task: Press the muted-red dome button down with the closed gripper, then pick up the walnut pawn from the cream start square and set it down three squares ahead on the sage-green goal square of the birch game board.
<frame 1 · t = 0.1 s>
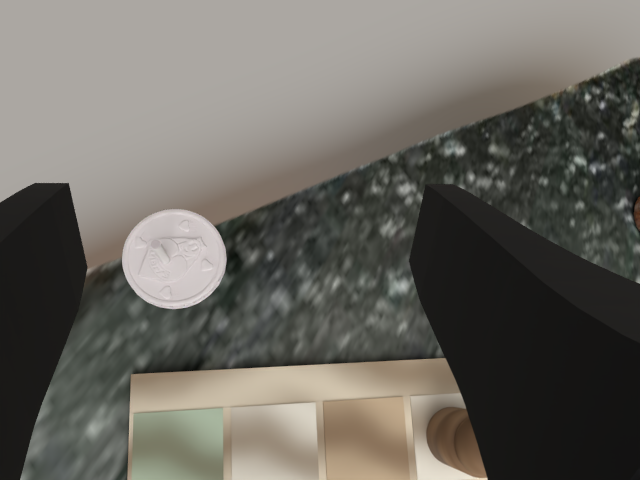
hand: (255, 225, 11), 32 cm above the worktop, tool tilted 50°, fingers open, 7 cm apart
smoothie: (188, 282, 42), on the worktop
walnut pawn: (453, 436, 41), point 1 cm above the worktop, touching game board
game board: (319, 444, 41), on the worktop
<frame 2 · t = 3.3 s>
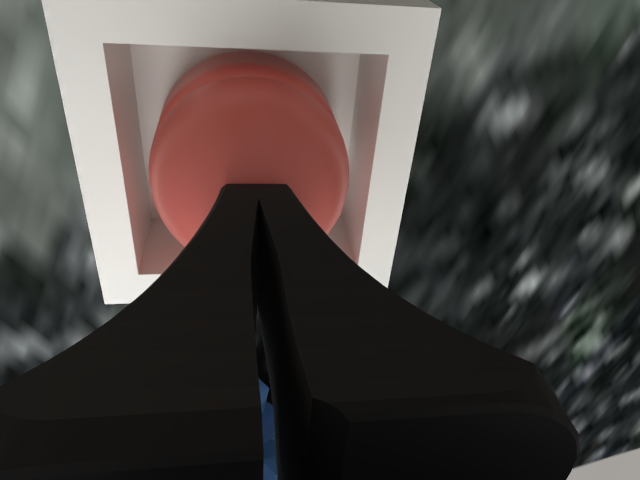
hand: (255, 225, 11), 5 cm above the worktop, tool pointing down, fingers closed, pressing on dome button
dome base: (248, 126, 15), on the worktop
grapes: (272, 390, 22), on the worktop
dome button: (251, 173, 13), point 3 cm above the worktop, slide at 1.1 cm, touching gripper
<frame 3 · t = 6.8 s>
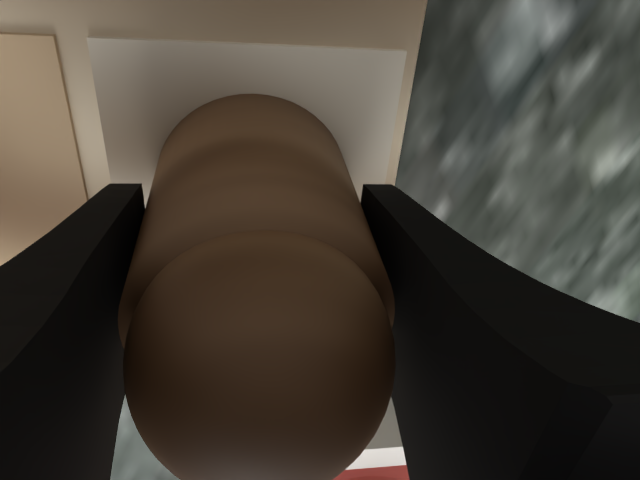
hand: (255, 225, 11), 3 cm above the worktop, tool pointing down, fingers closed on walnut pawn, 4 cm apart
dome base: (341, 441, 21), on the worktop
walnut pawn: (253, 184, 12), point 1 cm above the worktop, touching game board, gripper
when the fingers open (4 cm above the worktop, at t = 11.0 s): walnut pawn drops 1 cm, resting on game board.
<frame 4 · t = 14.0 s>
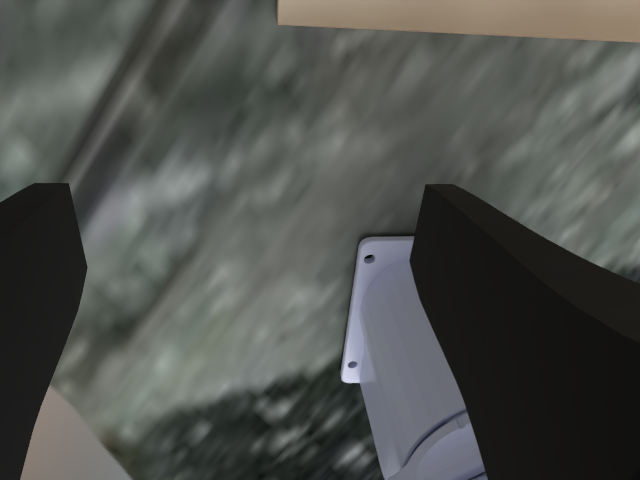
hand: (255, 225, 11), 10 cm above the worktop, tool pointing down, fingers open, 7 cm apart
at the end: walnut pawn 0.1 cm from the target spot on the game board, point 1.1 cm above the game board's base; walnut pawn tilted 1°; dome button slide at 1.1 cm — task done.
